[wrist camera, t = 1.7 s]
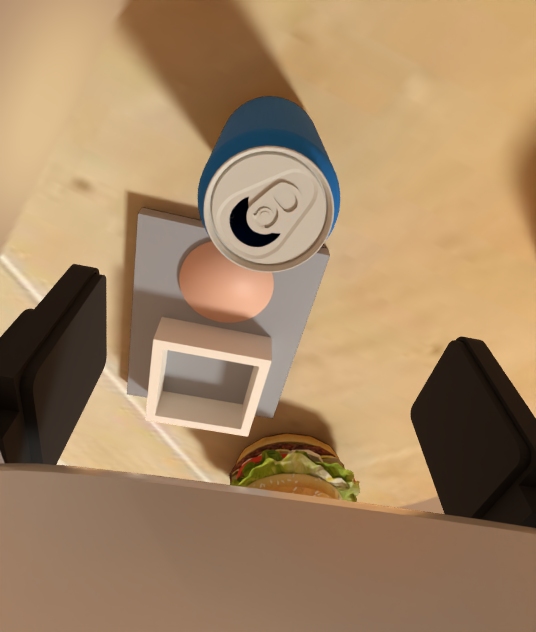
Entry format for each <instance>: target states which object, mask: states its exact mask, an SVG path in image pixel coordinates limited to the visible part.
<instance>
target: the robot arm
mask: <svg viewBox="0 0 536 632" xmlns="http://www.w3.org/2000/svg"><path fill="white" fill-rule="evenodd" d="M106 355H107V349H106V277H105V275H99V270H98V269H97V268H93V267H88V266H82V265H77V264H73V265H72V266H71V267H70V268H69V269H68V270H67V271H66V272H65V274H64V275H63V276H62V277H61V278H60V280H59V281H58V282H57V283H56V284H55V285H54V287H53V288H52V289H51V290H50V291H49V293H48V294H47V295H46V296H45V297H44V298H43V300H42V301H41V302H40V303H39V304H38V306H37V307H36V308H35V309H27V310H25V311H24V312H22V313H21V314H20V316H19V317H18V318H17V319H16V320H15V321H14V322H13V324H12V325H11V326H10V327H9V328H8V329H7V330H6V331H5V333H4V334H3V335H2V336H1V337H0V632H536V418H535V417H534V415H533V414H532V412H531V411H530V409H529V408H528V406H527V405H526V403H525V402H524V400H523V399H522V397H521V396H520V395H519V393H518V392H517V390H516V389H515V387H514V386H513V384H512V383H511V381H510V380H509V378H508V377H507V375H506V374H505V372H504V371H503V369H502V368H501V366H500V365H499V363H498V362H497V360H496V359H495V357H494V356H493V355H492V353H491V352H490V350H489V349H488V347H487V346H486V344H485V343H484V342H483V341H481V340H477V339H472V338H467V337H459V338H457V339H456V340H454V341H451V342H450V343H449V344H448V346H447V348H446V349H445V351H444V353H443V355H442V356H441V358H440V360H439V361H438V363H437V365H436V366H435V368H434V370H433V372H432V373H431V375H430V377H429V378H428V380H427V382H426V384H425V385H424V387H423V389H422V390H421V392H420V394H419V395H418V397H417V399H416V401H415V402H414V404H413V406H412V408H411V420H412V423H413V426H414V429H415V432H416V434H417V437H418V440H419V443H420V446H421V448H422V451H423V454H424V457H425V460H426V463H427V465H428V468H429V471H430V474H431V477H432V479H433V482H434V485H435V488H436V491H437V494H438V496H439V499H440V502H441V505H442V508H443V510H444V513H445V514H438V513H431V512H424V511H417V510H410V509H403V508H396V507H389V506H382V505H374V504H367V503H359V502H352V501H345V500H337V499H330V498H323V497H315V496H308V495H300V494H293V493H285V492H278V491H270V490H263V489H256V488H248V487H240V486H232V485H225V484H217V483H209V482H201V481H194V480H186V479H178V478H171V477H163V476H155V475H147V474H138V473H130V472H121V471H112V470H103V469H94V468H86V467H77V466H64V465H56V464H57V462H58V460H59V458H60V456H61V454H62V452H63V450H64V448H65V446H66V444H67V442H68V440H69V438H70V436H71V434H72V432H73V430H74V428H75V426H76V424H77V422H78V420H79V418H80V416H81V414H82V412H83V410H84V408H85V406H86V404H87V402H88V399H89V397H90V395H91V393H92V391H93V389H94V387H95V385H96V383H97V381H98V379H99V377H100V375H101V373H102V371H103V369H104V366H105V363H106Z"/></svg>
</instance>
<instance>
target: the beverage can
mask: <svg viewBox="0 0 536 632" xmlns="http://www.w3.org/2000/svg"><path fill="white" fill-rule="evenodd" d="M339 207H340V189H339V183H338V179H337V176H336V173H335V171H334V169H333V166H332V164H331V162H330V160H329V157H328V155H327V153H326V151H325V148H324V146H323V144H322V142H321V139H320V137H319V135H318V132H317V130H316V128H315V126H314V123H313V122H312V120H311V119H310V117H309V116H308V115H307V113H306V112H305V111H304V110H303V109H302V108H301V107H299V106H298V105H296V104H295V103H293V102H291V101H289V100H287V99H284V98H280V97H273V96H266V97H259V98H256V99H253V100H250V101H248V102H246V103H245V104H243V105H241V106H240V107H239V108H238V109H237V110H236V111H235V112H234V113H233V114H232V115H231V116H230V118H229V119H228V121H227V123H226V125H225V127H224V129H223V131H222V133H221V135H220V137H219V139H218V141H217V143H216V145H215V147H214V149H213V151H212V154H211V156H210V158H209V160H208V162H207V164H206V166H205V168H204V170H203V173H202V176H201V178H200V183H199V188H198V208H199V213H200V217H201V220H202V223H203V226H204V228H205V230H206V232H207V234H208V235H209V237H210V238H211V240H212V242H213V243H214V245H215V246H216V248H217V249H218V250H219V251H220V252H221V253H222V254H223V255H224V256H225V257H226V258H227V259H229V260H230V261H232V262H233V263H235V264H237V265H239V266H240V267H243V268H246V269H248V270H252V271H257V272H267V273H272V272H280V271H285V270H289V269H292V268H294V267H296V266H299V265H301V264H302V263H304V262H305V261H307V260H308V259H310V258H311V257H312V256H313V255H314V254H315V253H316V252H317V251H318V250H319V249H320V248H321V246H322V245H323V244H324V242H325V241H326V239H327V238H328V237H329V235H330V233H331V232H332V230H333V228H334V225H335V223H336V220H337V217H338V213H339Z"/></svg>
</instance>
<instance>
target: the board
mask: <svg viewBox="0 0 536 632" xmlns="http://www.w3.org/2000/svg"><path fill="white" fill-rule="evenodd" d="M329 257H330V254H329V250H328V249H327V248H323V247H321V248H320V249H319V250H318V251H317V252H316V253H315V254H314V255H313V256H312V257H311V258H310V259H308V260H307V261H305V262H304V263H302V264H301V265H299V266H296V267H294V268H292V269H289V270H285V271H280V272H272V273H267V272H257V271H252V270H248V269H246V268H243V267H240V266H239V265H237V264H235V263H233V262H232V261H230V260H229V259H227V258H226V257H225V256H224V255H223V254H222V253H221V252H220V251H219V250H218V249H217V248H216V246H215V245H214V243H213V242H212V240H211V238H210V237H209V235H208V234H207V232H206V230H205V228H204V226H203V223H202V221H201V220H197V219H192V218H188V217H183V216H179V215H174V214H170V213H165V212H161V211H156V210H152V209H147V208H143V207H142V209H141V210H140V212H139V213H138V222H137V239H136V255H135V271H134V287H133V303H132V320H131V336H130V352H129V368H128V384H127V394H129V395H135V396H141V397H147V407H146V417H145V420H147V421H153V422H159V423H166V424H172V425H178V426H184V427H191V428H197V429H203V430H209V431H216V432H222V433H228V434H234V435H241V436H247V437H248V435H249V432H250V429H251V425H252V422H253V419H254V416H261V417H267V418H273V416H274V413H275V410H276V407H277V405H278V402H279V399H280V396H281V393H282V390H283V388H284V385H285V382H286V379H287V376H288V373H289V371H290V368H291V365H292V362H293V359H294V356H295V354H296V351H297V348H298V345H299V342H300V339H301V336H302V334H303V331H304V328H305V325H306V322H307V319H308V317H309V314H310V311H311V308H312V305H313V302H314V300H315V297H316V294H317V291H318V288H319V285H320V283H321V280H322V277H323V274H324V271H325V268H326V266H327V263H328V260H329Z"/></svg>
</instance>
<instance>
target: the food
mask: <svg viewBox="0 0 536 632" xmlns="http://www.w3.org/2000/svg"><path fill="white" fill-rule="evenodd" d="M229 476H230V485H232V486H240V487H248V488H256V489H263V490H270V491H278V492H285V493H293V494H300V495H308V496H315V497H323V498H330V499H337V500H345V501H352V502H356V500H357V498H356V496H357V495H358V494H359V493H360V488H359V481H355V479H354V474H353V472H352V471H349V470H346V469H344V465H343V464H342V463H341V462H340V460H339V457H338V456H337V455H336V453H335V452H334V451H333V450H332V448H331V447H330V446H329V445H327V444H325V443H323V442H321V441H319V440H317V439H315V438H313V437H311V436H304V435H295V434H281V435H276V436H270V437H265V438H262V439H260V440H258V441H257V442H255V443H253V444H252V445H250V446H248V447H247V448H245V449H244V451H243V452H242V454H241V455H240V457H239V459H238V460H237V463H236V465H235V467H234V468H233V470H232V471H231V473H230V475H229Z"/></svg>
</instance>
